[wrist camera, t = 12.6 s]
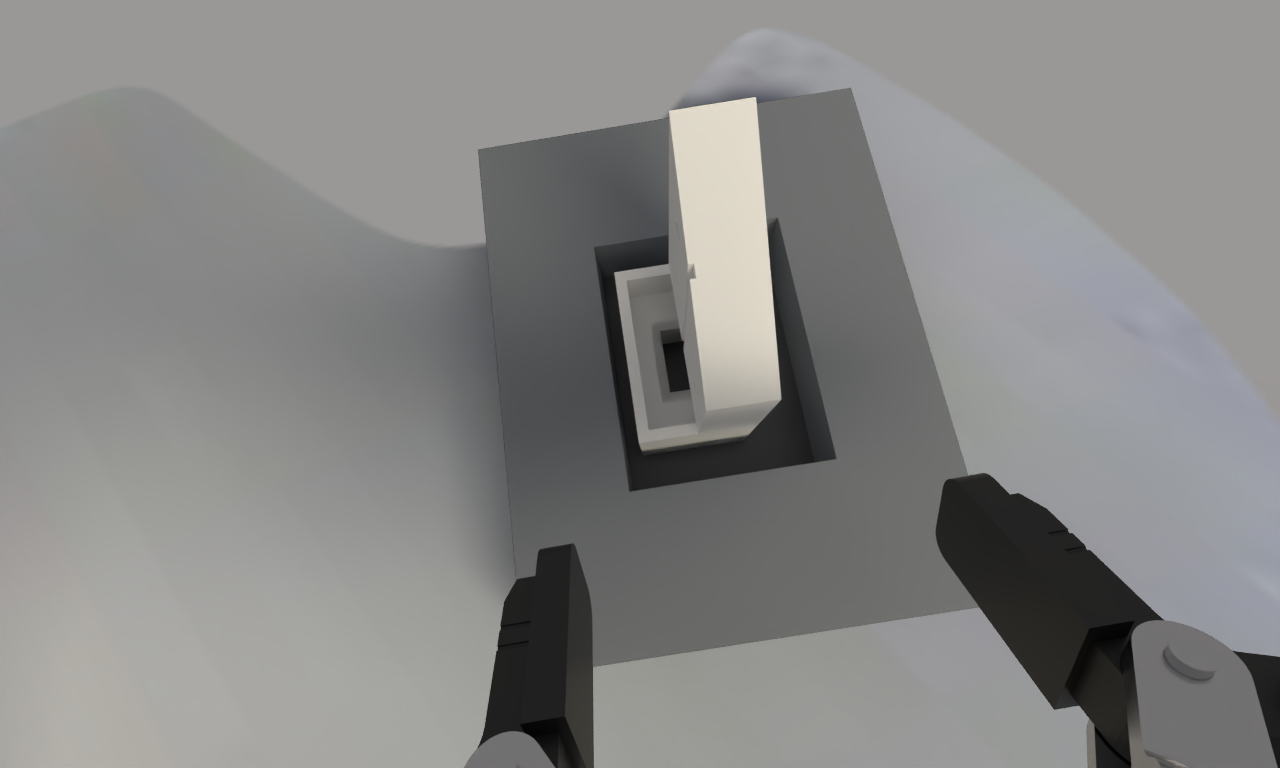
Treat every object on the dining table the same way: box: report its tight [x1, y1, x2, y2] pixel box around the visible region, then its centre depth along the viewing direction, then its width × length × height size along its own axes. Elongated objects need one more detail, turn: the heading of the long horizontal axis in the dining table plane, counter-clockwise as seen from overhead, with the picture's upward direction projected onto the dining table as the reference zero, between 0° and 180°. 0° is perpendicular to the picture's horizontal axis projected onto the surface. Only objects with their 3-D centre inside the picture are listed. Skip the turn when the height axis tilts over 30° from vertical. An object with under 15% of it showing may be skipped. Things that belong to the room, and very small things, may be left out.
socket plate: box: [478, 88, 979, 667], centre depth 19 cm, size 14×18×3 cm
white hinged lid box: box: [614, 97, 781, 455], centre depth 17 cm, size 4×10×9 cm, turn 8°
